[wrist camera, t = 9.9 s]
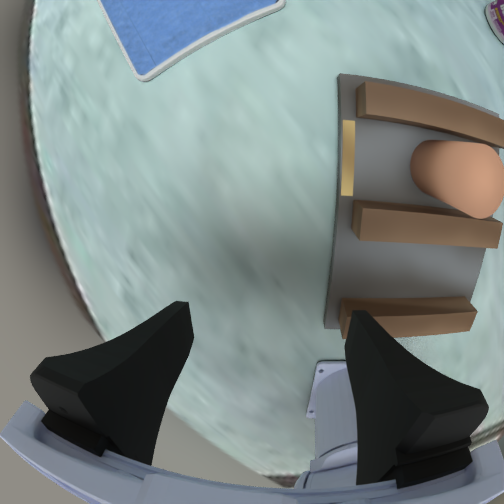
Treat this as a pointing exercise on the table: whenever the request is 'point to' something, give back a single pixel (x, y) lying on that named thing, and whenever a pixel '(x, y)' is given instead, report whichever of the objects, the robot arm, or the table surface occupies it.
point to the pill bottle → (496, 18)
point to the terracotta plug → (460, 175)
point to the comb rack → (403, 212)
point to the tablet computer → (175, 27)
